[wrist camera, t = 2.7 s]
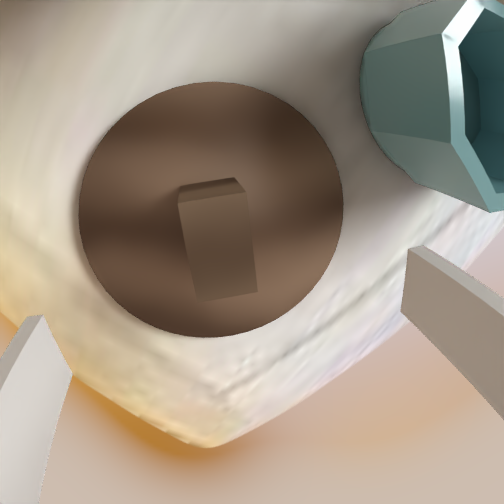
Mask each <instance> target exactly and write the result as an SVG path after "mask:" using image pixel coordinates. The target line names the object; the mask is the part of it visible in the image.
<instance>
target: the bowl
mask: <svg viewBox="0 0 504 504" xmlns="http://www.w3.org/2000/svg"><path fill="white" fill-rule="evenodd" d="M360 96H361V103H362V107H363V111H364V115H365V118H366V121H367V124H368V127H369V129H370V131H371V133H372V135H373V137H374V139H375V141H376V142H377V144H378V146H379V147H380V148H381V150H382V151H383V152H384V154H385V155H386V156H387V157H388V158H389V159H390V160H391V161H392V162H393V163H394V164H395V165H397V166H398V167H399V168H401V169H402V170H404V171H406V172H407V174H408V175H409V176H410V177H411V179H412V180H413V181H414V182H415V183H418V184H420V185H423V186H426V187H428V188H431V189H434V190H436V191H439V192H441V193H444V194H447V195H449V196H452V197H454V198H456V199H459V200H461V201H464V202H466V203H469V204H471V205H473V206H476V207H478V208H480V209H482V210H485V211H487V212H489V213H491V212H497V211H502V210H504V5H503V4H501V3H500V2H498V1H496V0H435V1H431V2H428V3H425V4H422V5H419V6H416V7H414V8H411V9H408V10H405V11H402V12H401V13H400V14H399V15H398V16H397V17H396V18H395V19H394V20H393V21H392V22H391V23H390V24H388V25H386V26H385V27H383V28H381V29H380V30H379V31H378V32H377V33H376V34H375V35H374V37H373V38H372V39H371V40H370V42H369V44H368V46H367V48H366V50H365V52H364V56H363V59H362V64H361V69H360Z"/></svg>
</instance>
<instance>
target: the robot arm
mask: <svg viewBox="0 0 504 504" xmlns="http://www.w3.org/2000/svg"><path fill="white" fill-rule="evenodd" d="M401 312H402V313H403V314H404V315H405V316H406V317H407V318H408V319H409V320H410V321H411V322H412V323H413V324H414V325H415V326H416V327H417V328H418V329H419V330H420V331H421V332H422V333H423V334H424V335H425V336H426V337H427V338H428V339H429V340H430V341H431V342H432V343H433V344H434V345H435V346H436V347H437V348H438V349H439V350H440V351H441V352H442V353H443V354H444V355H445V356H446V357H447V359H448V360H449V361H450V362H451V363H452V364H453V365H454V366H455V367H456V368H457V369H458V370H459V371H460V372H461V373H462V374H463V375H464V376H465V378H467V380H468V381H469V382H470V383H471V384H472V385H473V386H474V387H475V388H476V389H477V390H478V392H479V393H480V394H481V395H482V396H483V397H484V398H485V399H486V400H487V401H488V403H489V404H490V405H491V406H492V407H493V408H494V409H495V410H496V412H497V413H498V414H499V415H500V416H501V417H502V418H503V419H504V298H503V297H502V296H500V295H499V294H497V293H496V292H494V291H493V290H492V289H490V288H489V287H487V286H486V285H484V284H483V283H481V282H480V281H478V280H477V279H475V278H474V277H472V276H471V275H469V274H468V273H466V272H465V271H463V270H462V269H460V268H459V267H457V266H456V265H454V264H453V263H451V262H449V261H448V260H446V259H445V258H443V257H441V256H440V255H438V254H437V253H435V252H433V251H432V250H430V249H428V248H427V247H425V246H424V245H422V246H418V247H414V248H409V249H408V255H407V265H406V274H405V282H404V290H403V297H402V304H401ZM72 375H73V373H72V372H71V370H70V368H69V366H68V364H67V363H66V361H65V359H64V357H63V355H62V353H61V351H60V349H59V347H58V345H57V343H56V341H55V339H54V337H53V335H52V333H51V331H50V329H49V326H48V324H47V322H46V320H45V318H44V315H36V316H29V317H27V318H26V319H25V320H24V322H23V323H22V325H21V326H20V328H19V330H18V331H17V333H16V334H15V336H14V337H13V339H12V340H11V342H10V344H9V345H8V347H7V348H6V350H5V352H4V353H3V355H2V357H1V358H0V504H39V499H40V493H41V488H42V483H43V479H44V474H45V470H46V465H47V461H48V457H49V452H50V448H51V445H52V441H53V437H54V433H55V430H56V426H57V423H58V419H59V416H60V413H61V409H62V406H63V402H64V400H65V396H66V393H67V390H68V387H69V384H70V381H71V378H72Z"/></svg>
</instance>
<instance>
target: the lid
mask: <svg viewBox="0 0 504 504" xmlns="http://www.w3.org/2000/svg"><path fill="white" fill-rule="evenodd" d="M342 220H343V195H342V186H341V182H340V177H339V173H338V170H337V167H336V164H335V161H334V159H333V156H332V154H331V152H330V151H329V149H328V147H327V145H326V143H325V141H324V140H323V139H322V137H321V136H320V134H319V133H318V132H317V130H316V129H315V128H314V126H313V125H312V124H311V123H310V122H309V121H308V120H307V119H306V118H305V117H304V116H303V115H302V114H300V113H299V112H298V111H297V110H295V109H294V108H293V107H291V106H290V105H289V104H287V103H286V102H284V101H282V100H280V99H279V98H277V97H275V96H273V95H271V94H269V93H266V92H264V91H261V90H259V89H256V88H253V87H249V86H245V85H240V84H235V83H225V82H203V83H193V84H188V85H183V86H179V87H175V88H172V89H169V90H167V91H164V92H161V93H159V94H156V95H154V96H153V97H151V98H149V99H147V100H145V101H144V102H142V103H140V104H138V105H137V106H136V107H134V108H133V109H132V110H130V111H129V112H128V113H126V114H125V115H124V116H123V117H122V118H121V119H120V120H119V121H118V122H117V123H116V124H115V125H114V126H113V127H112V128H111V129H110V130H109V131H108V133H107V134H106V135H105V137H104V138H103V139H102V141H101V142H100V144H99V145H98V147H97V149H96V150H95V152H94V154H93V156H92V158H91V160H90V162H89V165H88V167H87V170H86V173H85V176H84V179H83V183H82V188H81V193H80V199H79V226H80V234H81V239H82V243H83V247H84V250H85V253H86V256H87V259H88V261H89V264H90V266H91V268H92V269H93V271H94V273H95V275H96V277H97V279H98V280H99V281H100V283H101V284H102V286H103V287H104V288H105V290H106V291H107V292H108V293H109V294H110V295H111V296H112V298H113V299H114V300H115V301H116V302H117V303H118V304H120V305H121V306H122V307H123V308H124V309H126V310H127V311H128V312H129V313H131V314H132V315H134V316H135V317H137V318H139V319H140V320H142V321H143V322H145V323H148V324H150V325H152V326H154V327H156V328H159V329H162V330H164V331H167V332H170V333H174V334H179V335H184V336H191V337H202V338H205V337H223V336H231V335H236V334H240V333H244V332H248V331H251V330H253V329H256V328H259V327H262V326H264V325H266V324H268V323H270V322H272V321H274V320H276V319H277V318H279V317H280V316H282V315H284V314H285V313H287V312H288V311H289V310H291V309H292V308H293V307H294V306H296V305H297V304H298V303H299V302H300V301H301V300H302V299H303V298H304V297H305V296H306V295H307V294H308V293H309V292H310V291H311V290H312V289H313V288H314V286H315V285H316V284H317V282H318V281H319V280H320V279H321V277H322V275H323V274H324V272H325V270H326V269H327V267H328V265H329V263H330V261H331V259H332V257H333V254H334V252H335V250H336V246H337V243H338V240H339V237H340V232H341V226H342Z"/></svg>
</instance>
